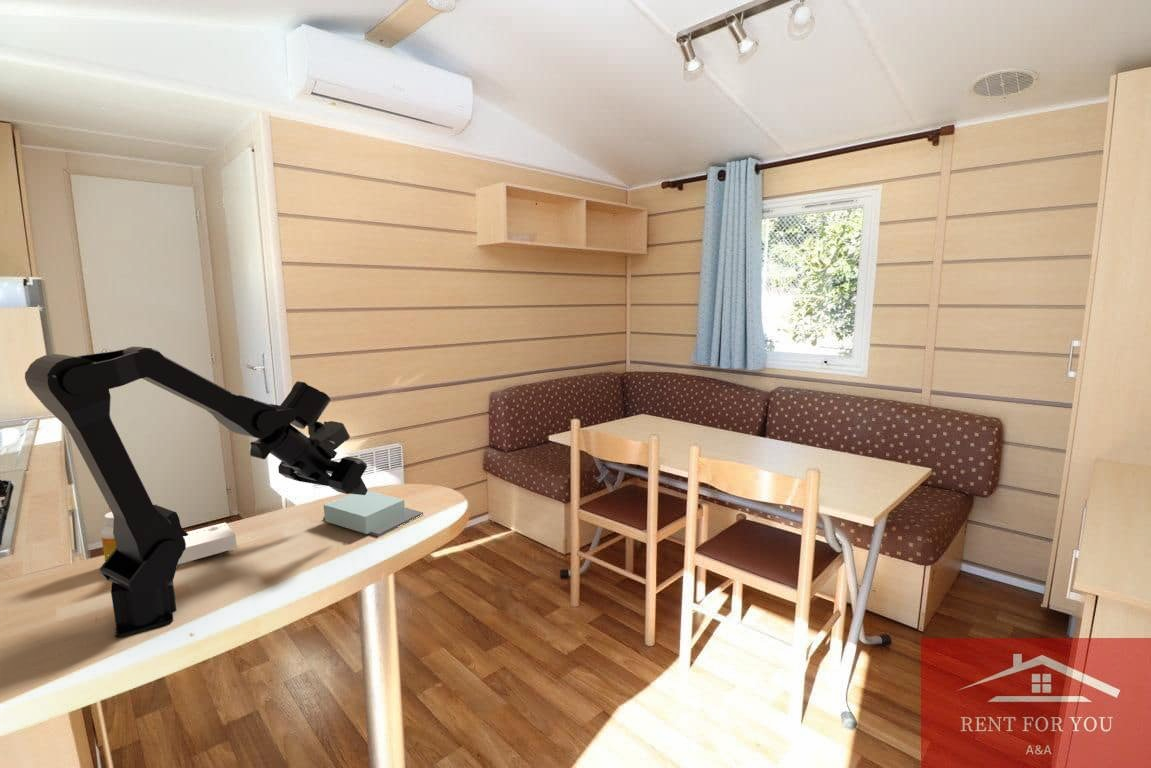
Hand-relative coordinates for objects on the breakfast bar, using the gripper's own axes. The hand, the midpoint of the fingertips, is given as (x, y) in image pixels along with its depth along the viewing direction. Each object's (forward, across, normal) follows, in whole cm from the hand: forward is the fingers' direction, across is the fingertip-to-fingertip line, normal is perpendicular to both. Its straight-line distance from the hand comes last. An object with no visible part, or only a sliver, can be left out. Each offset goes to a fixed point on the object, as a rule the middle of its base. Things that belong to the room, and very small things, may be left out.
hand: (349, 488), depth 111 cm
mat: (+10, 0, +2) cm, 10 cm away
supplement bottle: (-15, +20, +27) cm, 37 cm away
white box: (-10, +14, +22) cm, 28 cm away
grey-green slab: (+3, 0, +5) cm, 6 cm away
